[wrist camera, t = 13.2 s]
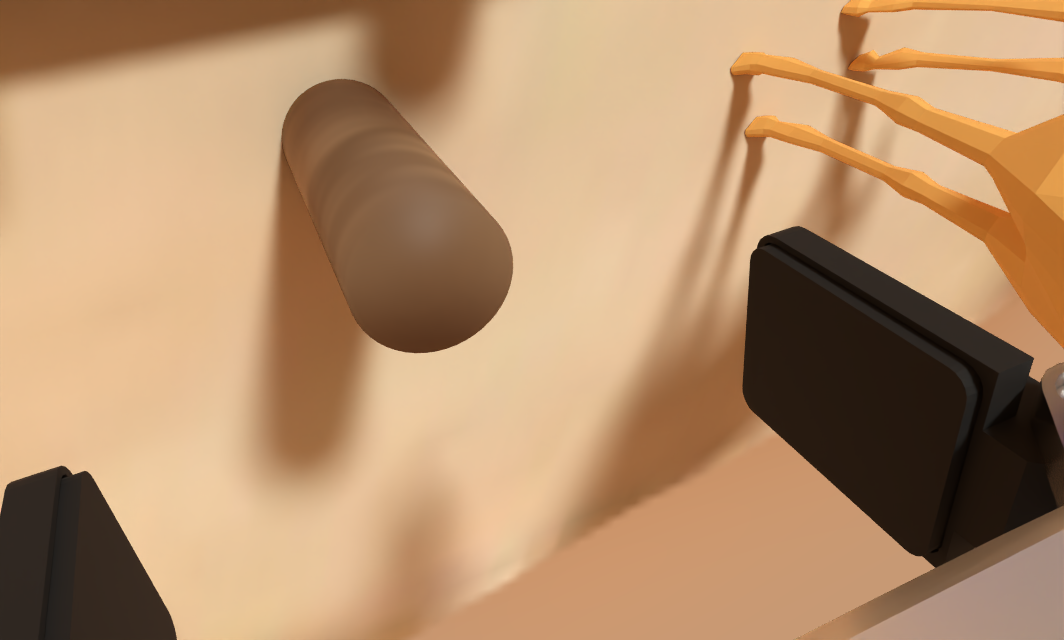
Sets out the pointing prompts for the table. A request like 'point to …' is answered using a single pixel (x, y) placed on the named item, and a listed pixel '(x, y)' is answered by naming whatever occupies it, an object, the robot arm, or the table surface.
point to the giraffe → (958, 150)
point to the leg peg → (394, 220)
